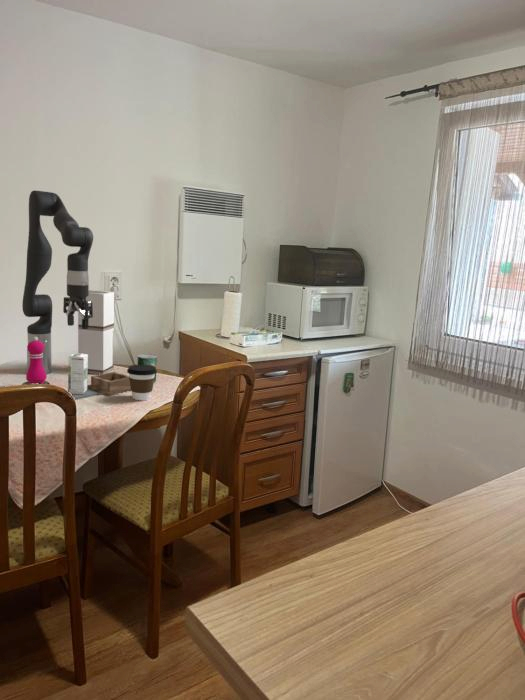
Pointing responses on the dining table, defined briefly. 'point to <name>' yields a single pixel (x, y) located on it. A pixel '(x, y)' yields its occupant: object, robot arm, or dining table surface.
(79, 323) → the banded white pillar
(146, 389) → the coffee cup
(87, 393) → the mat
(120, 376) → the wooden tray
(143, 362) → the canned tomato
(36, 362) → the pepper mill
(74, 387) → the syrup box
